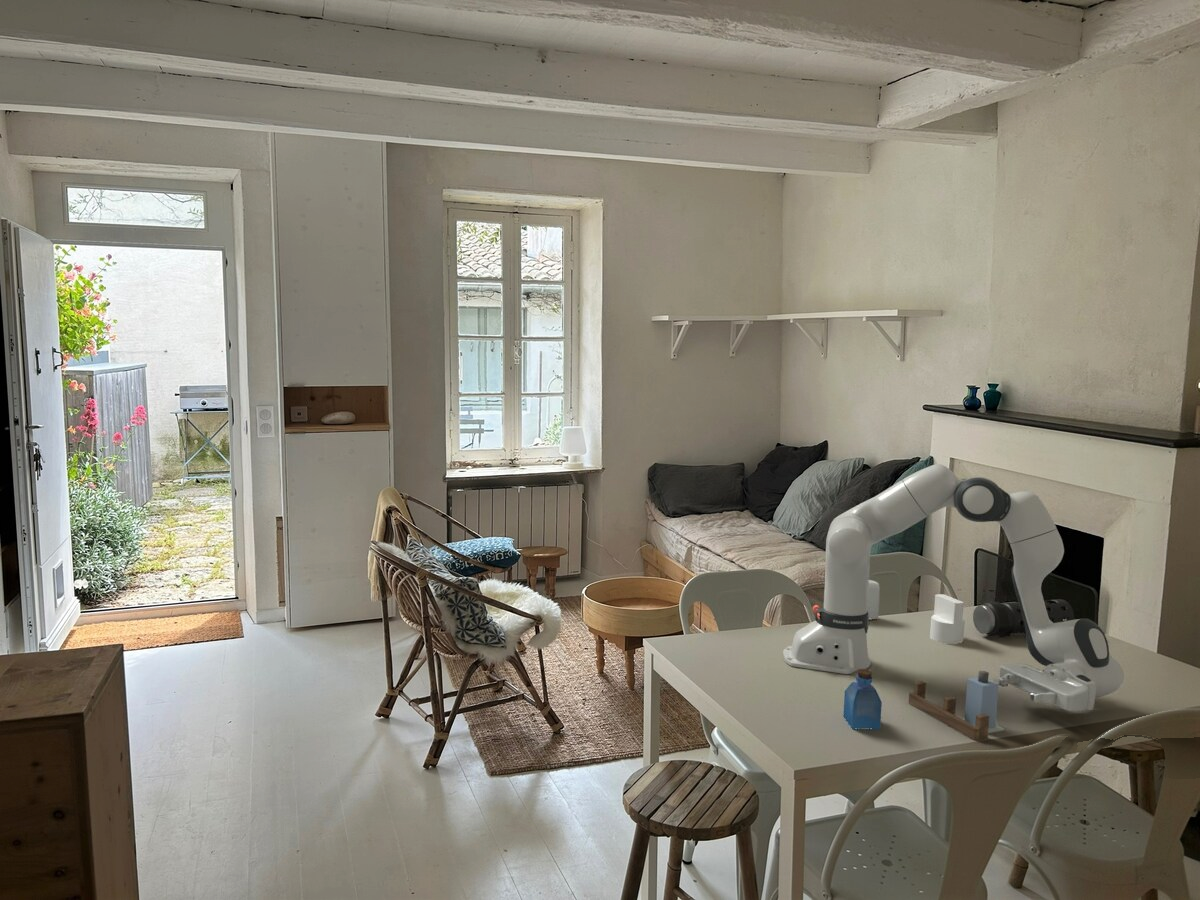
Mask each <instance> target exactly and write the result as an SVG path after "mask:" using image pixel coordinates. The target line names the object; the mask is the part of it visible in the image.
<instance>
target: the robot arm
mask: <svg viewBox="0 0 1200 900" xmlns="http://www.w3.org/2000/svg"><path fill="white" fill-rule="evenodd" d="M946 507H947V508H948V507H953V508H954V509H956V511H957V512H958V513H959V514H960V515H961V517H963V518H964V519H966V520H968V521H971V522H975V523H987V522H997V524H999V525H1000V526H1001V527H1002V530H1003V531H1004V534H1005V535H1006V538H1007V540H1008V543H1009V545H1010V548H1011V550H1012V556H1013V566H1012V567H1011V579H1012V580H1011V581H1012V584H1013V589H1014V592H1015V595H1016V599H1017V602H1018V604H1019V607H1020V611H1021V615H1022V618H1023V622H1024V626H1025V631H1026V634H1025V637H1026V638H1025V639H1026V640H1025V641H1026V647H1027V650H1028V652H1029V654H1030V655H1031V657H1032V658H1033V659H1034V660H1035V661H1037V662H1038V663H1039V664H1040V665H1042V666H1045V667H1044V668H1043V670H1042V669H1039V668H1037V667H1034V666H1032V665H1030V664H1027V663H1009V664H1008V663H1006V664H1002V665H1000V667H999V668H1000V669H999V677H997V682H996V683H998V684H999V686H1000V687H1003V688H1004V687H1008V686H1009V685H1011V686H1013V687H1015V688H1017V689H1019V690H1021V691H1024V692H1026V693H1027V694H1030V701H1032V702H1034V703H1045V704H1050V705H1051V704H1052V705H1055V707H1058V708H1060V709H1063V710H1065V711H1068V712H1079V711H1080V712H1081V711H1093V710H1094V706H1095V700H1096V699H1097V698H1100V697H1105V696H1108V695H1110V694H1114V692H1116V691H1118V690H1119V689H1121V688H1120V687H1121V686H1122V685H1123V683H1124V679H1125V673H1124V670H1123V667H1122V665H1121V663H1120V662H1118V661H1117V660H1116V659H1115V658H1114V657H1113V656H1112V654H1111V653H1110V649H1109V641H1108V639H1107V637H1106V635H1105V632H1104V630H1103V629H1102V628H1101V627H1100V626H1099V625H1098V624H1097V623H1096V622H1095V621H1093V620H1091V619H1090V618H1079V619H1076V618H1075V619H1074V620H1070V621H1065V622H1058V623H1053V622H1051V621H1050V619H1049V617H1048V614H1047V610H1046V607H1045V603H1044V600H1045V599H1044V596H1043V593H1042V583H1043V581H1044V579H1045V578H1046V577H1047V576H1048V575H1049V574H1051V573H1052V571H1054V570H1055V569H1056V568H1057V567H1058V566H1059V564H1060V563H1061V562H1062V560H1063V557H1064V554H1065V547H1064V543H1063V539H1062V536H1061V535H1060V533H1059V531H1058V528H1057V526H1056V524H1055V521H1054V520H1053V518H1052V516H1051V514H1050V512H1049V511H1048V509H1047V508H1046V506H1045V504H1044V502H1043V501H1042V500H1041V499H1040V497H1039V496H1038V495H1037V494H1036V493H1034V492H1031V491H1025V490H1024V491H1017V492H1013V493H1008V492H1007V491H1006V490H1004V489H1002V488H1001V487H1000V486H999V485H998V484H997V483H996V482H995V481H993V480H992V479H990V478H987V477H983V476H975V477H969V478H959V477H957V475H956V474H955V473H954V472H953V471H952V470H951V468H949V467H947V466H945V465H943V464H940V463H938V464H937V463H935V464H932V465H929V466H927V467H925V468H922V469H920V470H918V471H916V472H913V473H912V474H910V475H908V476H906V477H905V478H903V479H901V480H900V481H898V482H896V483H895V484H893V485H891V486H890V487H888V488H886V489H885V490H883V491H882V492H880V493H879V494H877V495H875V496H874V497H871V498H869V499H866V500H865V501H863V502H860V503H859V504H858V505H855V506H854V507H851V508H850V509H848V510H846V511H845V512H843V513H841V514H839V515H838V516H836V517H835V518H833V520H832V521H831V523H830V524H829V528H828V532H827V535H826V538H825V541H826V542H825V562H824V563H825V566H824V568H825V569H824V574H825V575H824V594H823V606H821V607H820V605H818V604H815V605H813V606H812V611H813V612H812V613H814V621H812V622H810V623H809V624H807V625H805V626H804V627H802V628H799V629H798V630H797V631H796V632H795V634H794V636H793V639H792V642H791V645H788V646H786V647H785V648H784V649H783V651H782V659H783V661H784V662H785V663H786V664H787V665H789V666H790V667H796V668H802V669H809V670H816V671H822V672H830V673H835V674H837V673H838V674H843V675H850V674H853V673H855V672H857V670H858V669H868V668H869V667H871V661H870V657H869V652H868V649H869V648H868V643H867V642H868V641H867V639H868V638H867V637H868V636H867V633H868V630H869V621H870V620H869V616H868V611H867V602H868V585H869V580H870V565H871V549H872V546H873V545H874V544H877V543H879V542H881V541H883V540H886V539H887V538H891V537H893V536H894V535H898V534H900V533H902V532H903V531H906V530H907V529H909V528H911V527H912V526H914V525H915V524H917V523H919V522H920V521H923V520H924V519H925V518H927V517H929V516H930V515H932V514H934V513H935V512H937V511H939V510H941V509H943V508H946Z"/></svg>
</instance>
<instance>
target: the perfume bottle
mask: <svg viewBox="0 0 1200 900" xmlns="http://www.w3.org/2000/svg"><path fill="white" fill-rule="evenodd" d="M856 672H857V674H856V675H855V681H856V682H854V681H853V682H851V683H850V684H849V685H848V686H847V688H846V689H845V690H844V697H843V698H844V702H843V713H842V714H843V716H842V717H844V718H845V719H846V720H845V719H844V718H843V719H844V720H845V722H846V721H847V722H848V723H847V722H846V723H847V724H848V726H849V725H850V726H851V727H850V726H849V727H850V729H851V728H852V729H851V730H859V729H858V728H869V729H868V730H880V729H881V722H882V721H881V720H882V719H881V718H882V703H883V701H882V700H881V698H880V696H879V693H878V691H877V689H876V688H875V687H874V686H873V684H872V683H873V676H872V674H873V671H872V670H871V669H868V668H866V669H858V670H857V671H856ZM853 728H854V729H853ZM855 728H857V729H855ZM870 728H872V729H870Z"/></svg>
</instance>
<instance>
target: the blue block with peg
mask: <svg viewBox="0 0 1200 900" xmlns="http://www.w3.org/2000/svg"><path fill="white" fill-rule="evenodd" d="M989 675H990V674H989V671H987V670H979V671H978V675H977V677H976V676H975V677H970V678H967V680H966V681H967V682H966V692H965V693H966V695H965V696H966V697H965V707H964V718H963V719H964V720H965V721H967V722H968V723H970V724H972V725H974V726H975V721H976V715H979V714H987V715H989V726H988V729H989V728H994V727H995V726H996V725H997V709H998V700H999V699H998V697H999V686H1000V685H999V684H998V683H997V682H996V681H994V680H992V679H989Z"/></svg>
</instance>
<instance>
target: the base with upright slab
mask: <svg viewBox="0 0 1200 900" xmlns="http://www.w3.org/2000/svg"><path fill="white" fill-rule="evenodd" d="M964 606H965V605H964V602H963V601H961V600H959V599H956V598H954V597H951V596H949V595H947V594H945V593H944V594H942V593H941V594H940V593H938V594H934V608H933V609H934V611H933V614H932V615H931V617H930V628H929V629H930V631H929V632H930V633H929V638H930V639H931V640H932V639H933V640H932V641H934V640H935V641H934V642H936V641H938V642H937V643H939V642H942V643H941V644H944V643H948V644H947V645H959V644H958V643H961V644H963V643H962V642H964V636H965V619H964V617H963V616H964Z"/></svg>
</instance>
